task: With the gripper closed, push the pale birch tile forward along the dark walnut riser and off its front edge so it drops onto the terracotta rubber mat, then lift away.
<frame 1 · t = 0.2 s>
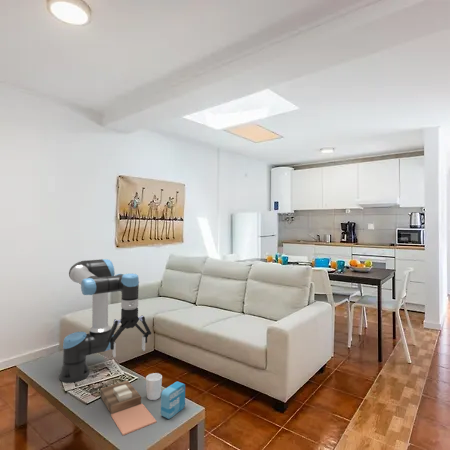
hand: (129, 352, 149), 27 cm above the table, fingers open, 13 cm apart
terracotta mat: (133, 419, 144), on the table
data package: (173, 412, 150), on the table
walnut riser: (120, 400, 158), on the table
birch tile: (122, 395, 155), point 4 cm above the table, touching walnut riser
white cup: (153, 396, 162), on the table
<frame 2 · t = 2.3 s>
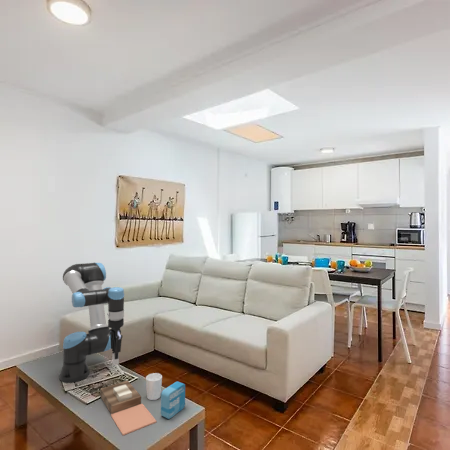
hand: (115, 364, 164), 15 cm above the table, fingers closed
nothing on the table moved.
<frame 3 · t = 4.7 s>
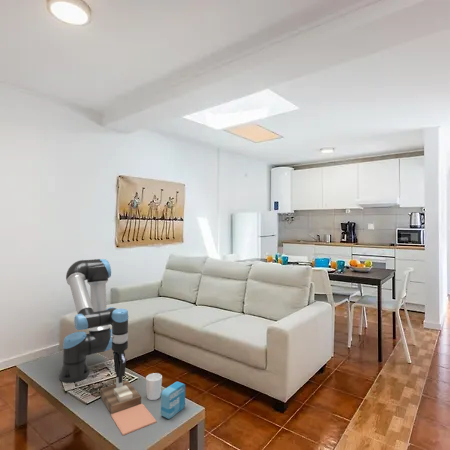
hand: (119, 388, 159), 5 cm above the table, fingers closed
nothing on the table moved.
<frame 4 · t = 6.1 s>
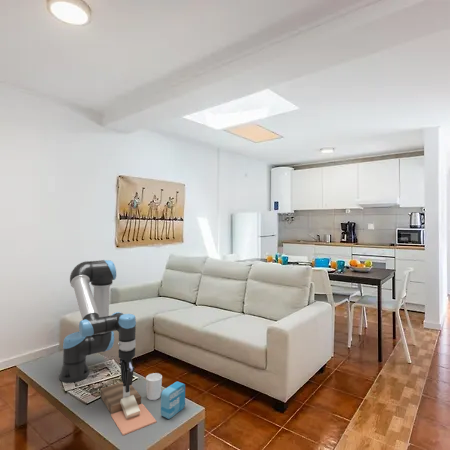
hand: (126, 397, 151), 5 cm above the table, fingers closed
birch tile: (129, 408, 148), point 2 cm above the table, tilted 23°
everything else where it was.
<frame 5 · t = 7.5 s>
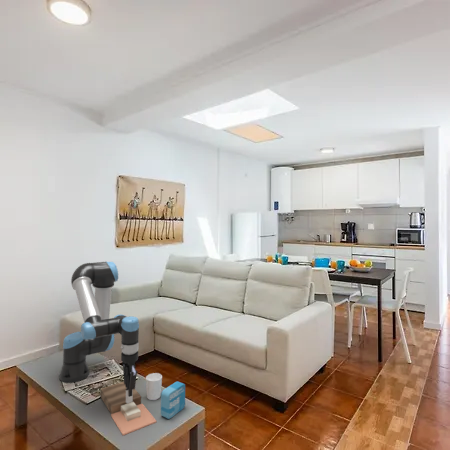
hand: (129, 401, 148), 5 cm above the table, fingers closed
birch tile: (130, 413, 147), point 1 cm above the table, touching terracotta mat
everything else where it was.
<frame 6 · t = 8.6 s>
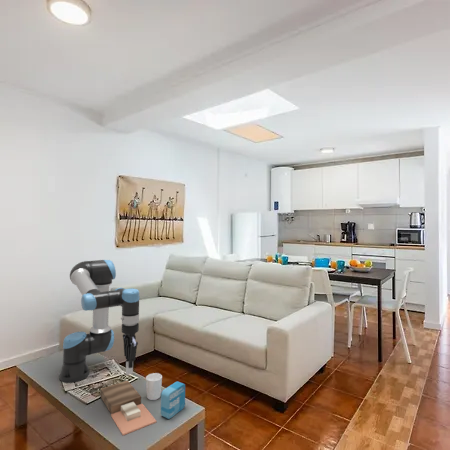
hand: (129, 373, 148), 18 cm above the table, fingers closed
nothing on the table moved.
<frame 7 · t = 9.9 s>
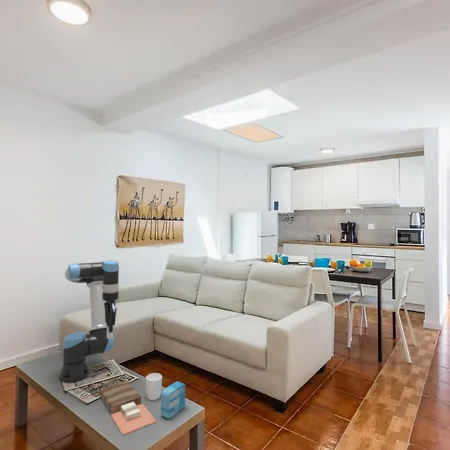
hand: (109, 337, 162), 29 cm above the table, fingers closed
nothing on the table moved.
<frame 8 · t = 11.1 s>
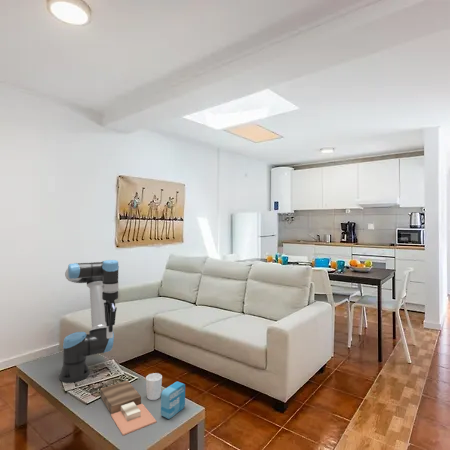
hand: (109, 337, 162), 29 cm above the table, fingers closed
nothing on the table moved.
at the end: birch tile point 0.6 cm above the table; birch tile inside the target area (3.5 cm from its centre), point 0.6 cm above the table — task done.
